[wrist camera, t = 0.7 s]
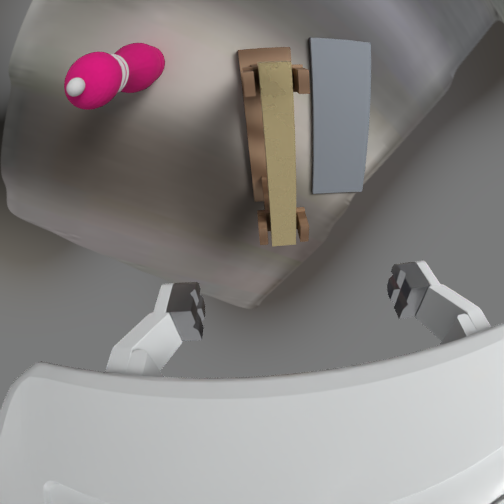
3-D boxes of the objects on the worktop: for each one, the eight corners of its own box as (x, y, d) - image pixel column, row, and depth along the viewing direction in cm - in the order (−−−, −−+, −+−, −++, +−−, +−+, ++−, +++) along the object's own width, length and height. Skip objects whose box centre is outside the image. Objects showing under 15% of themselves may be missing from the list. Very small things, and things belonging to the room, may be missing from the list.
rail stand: (238, 50, 31) (234, 50, 19) (288, 47, 30) (313, 47, 19) (254, 198, 47) (257, 258, 36) (295, 194, 47) (311, 254, 36)
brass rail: (257, 62, 23) (258, 63, 21) (287, 60, 22) (291, 61, 21) (270, 233, 37) (272, 246, 35) (293, 232, 37) (295, 244, 35)
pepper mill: (178, 58, 31) (122, 73, 16) (148, 95, 34) (81, 141, 19) (142, 34, 27) (63, 36, 13) (114, 72, 31) (30, 105, 16)
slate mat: (309, 37, 29) (310, 37, 29) (368, 42, 29) (370, 43, 28) (312, 191, 47) (313, 193, 46) (360, 189, 46) (361, 191, 46)
